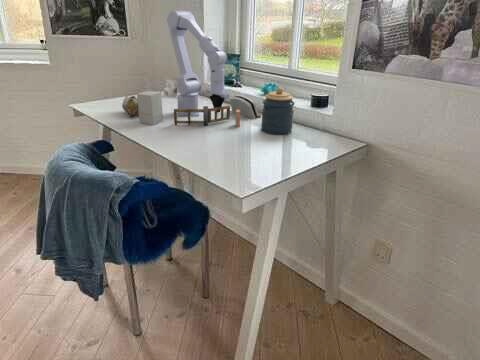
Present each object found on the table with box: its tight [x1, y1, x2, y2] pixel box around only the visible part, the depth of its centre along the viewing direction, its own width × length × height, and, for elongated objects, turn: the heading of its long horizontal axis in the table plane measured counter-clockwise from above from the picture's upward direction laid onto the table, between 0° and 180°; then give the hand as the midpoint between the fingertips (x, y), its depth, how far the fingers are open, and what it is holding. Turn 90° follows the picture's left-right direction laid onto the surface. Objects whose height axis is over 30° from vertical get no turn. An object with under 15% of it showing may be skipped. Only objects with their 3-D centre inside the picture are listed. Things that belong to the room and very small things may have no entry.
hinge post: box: [202, 105, 209, 127], centre depth 150 cm, size 2×2×8 cm
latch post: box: [235, 110, 241, 128], centre depth 152 cm, size 2×4×6 cm, turn 4°
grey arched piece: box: [229, 94, 262, 120], centre depth 168 cm, size 17×5×10 cm, turn 38°
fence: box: [173, 108, 204, 126], centre depth 150 cm, size 12×1×7 cm, turn 94°
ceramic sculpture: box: [121, 95, 139, 117], centre depth 162 cm, size 11×9×15 cm
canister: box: [260, 87, 296, 136], centre depth 145 cm, size 13×13×18 cm
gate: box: [208, 105, 231, 124], centre depth 154 cm, size 11×1×6 cm, turn 129°
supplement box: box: [136, 90, 164, 126], centre depth 151 cm, size 7×7×13 cm
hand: (217, 112), depth 157 cm, fingers closed
